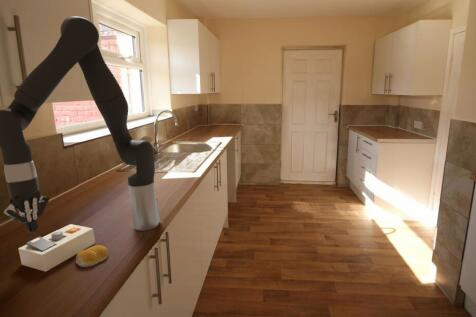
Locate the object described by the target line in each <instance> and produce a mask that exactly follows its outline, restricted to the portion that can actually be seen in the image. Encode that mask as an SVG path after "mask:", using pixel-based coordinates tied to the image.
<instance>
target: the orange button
mask: <svg viewBox="0 0 476 317" xmlns="http://www.w3.org/2000/svg"><path fill="white" fill-rule="evenodd" d="M77 231H78V228H72V229H69V230H68V231H67V232H68V233H69V234H73V233H75V232H77Z"/></svg>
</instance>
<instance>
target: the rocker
mask: <svg viewBox="0 0 476 317" xmlns="http://www.w3.org/2000/svg"><path fill="white" fill-rule="evenodd" d="M26 245H27V246H28V247H30V248H32V249H34V250H36V251H39V252H43V251H45V250H47V249H49V248H51V247H53V246H55V244H53V243H51V242H49V241H47V240H45V239H43V238H42V236H37V237H35V238H34V239H31V240H30V241H27V242H26Z"/></svg>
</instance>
